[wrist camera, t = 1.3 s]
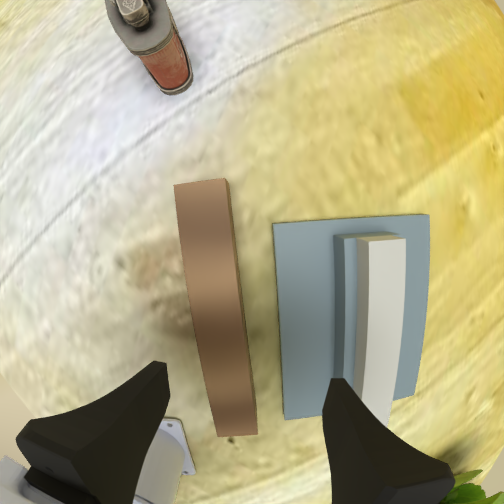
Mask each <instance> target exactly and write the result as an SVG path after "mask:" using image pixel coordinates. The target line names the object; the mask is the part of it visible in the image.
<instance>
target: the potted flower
mask: <svg viewBox="0 0 504 504" xmlns="http://www.w3.org/2000/svg"><path fill="white" fill-rule="evenodd" d="M482 471H483V470H474V471H469V472H466V473H462V474H459V475H456V476H454V478H455V481H456V482H455V485H454V487H453V488H452V490H451V491H450V492H449V493H448V494H447V495H446V496H445V497H444V498H443V499H442V500H441V501H440V502H439V503H440V504H504V492H499V493H497V494H495V495H493V496H491V497H489V498H486V496H485V492H484V490H482V489H481V486H479V485H474V484H473V483H469V484H463V483H465V482H467V481H469V480H471V479H472V478H474V477H476V476H477V475H478V474H479V473H481V472H482ZM461 484H463V485H461Z"/></svg>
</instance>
